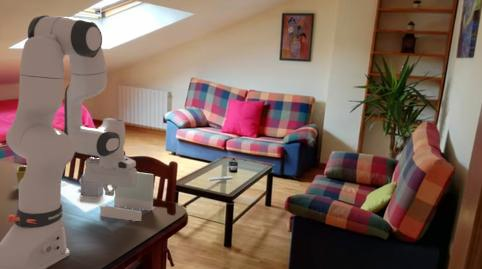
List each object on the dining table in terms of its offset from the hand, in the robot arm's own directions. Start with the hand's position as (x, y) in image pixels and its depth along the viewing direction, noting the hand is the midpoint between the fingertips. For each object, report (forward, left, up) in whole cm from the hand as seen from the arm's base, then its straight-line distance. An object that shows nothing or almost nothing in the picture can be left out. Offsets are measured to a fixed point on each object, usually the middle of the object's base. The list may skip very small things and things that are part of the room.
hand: (109, 195), depth 150 cm
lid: (+7, -7, +3) cm, 10 cm away
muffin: (+22, +22, -7) cm, 32 cm away
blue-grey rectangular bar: (+1, -7, -8) cm, 10 cm away
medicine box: (+16, +16, -7) cm, 24 cm away
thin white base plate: (+2, -7, -7) cm, 10 cm away
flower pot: (+12, +43, -7) cm, 46 cm away
